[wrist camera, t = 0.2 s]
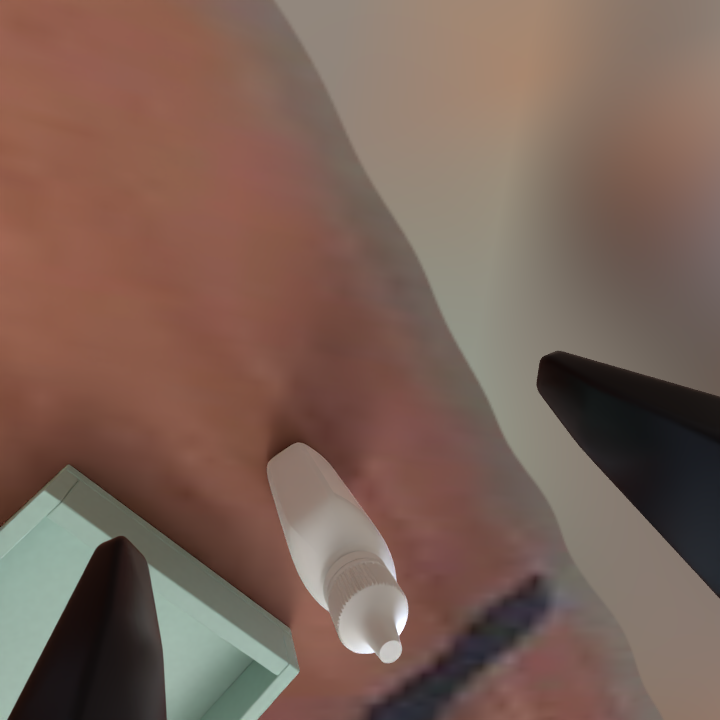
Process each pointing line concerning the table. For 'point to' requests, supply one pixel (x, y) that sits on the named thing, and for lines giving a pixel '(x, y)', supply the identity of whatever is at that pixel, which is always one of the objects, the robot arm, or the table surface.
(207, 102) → the table surface
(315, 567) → the eye dropper bottle
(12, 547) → the green tray
